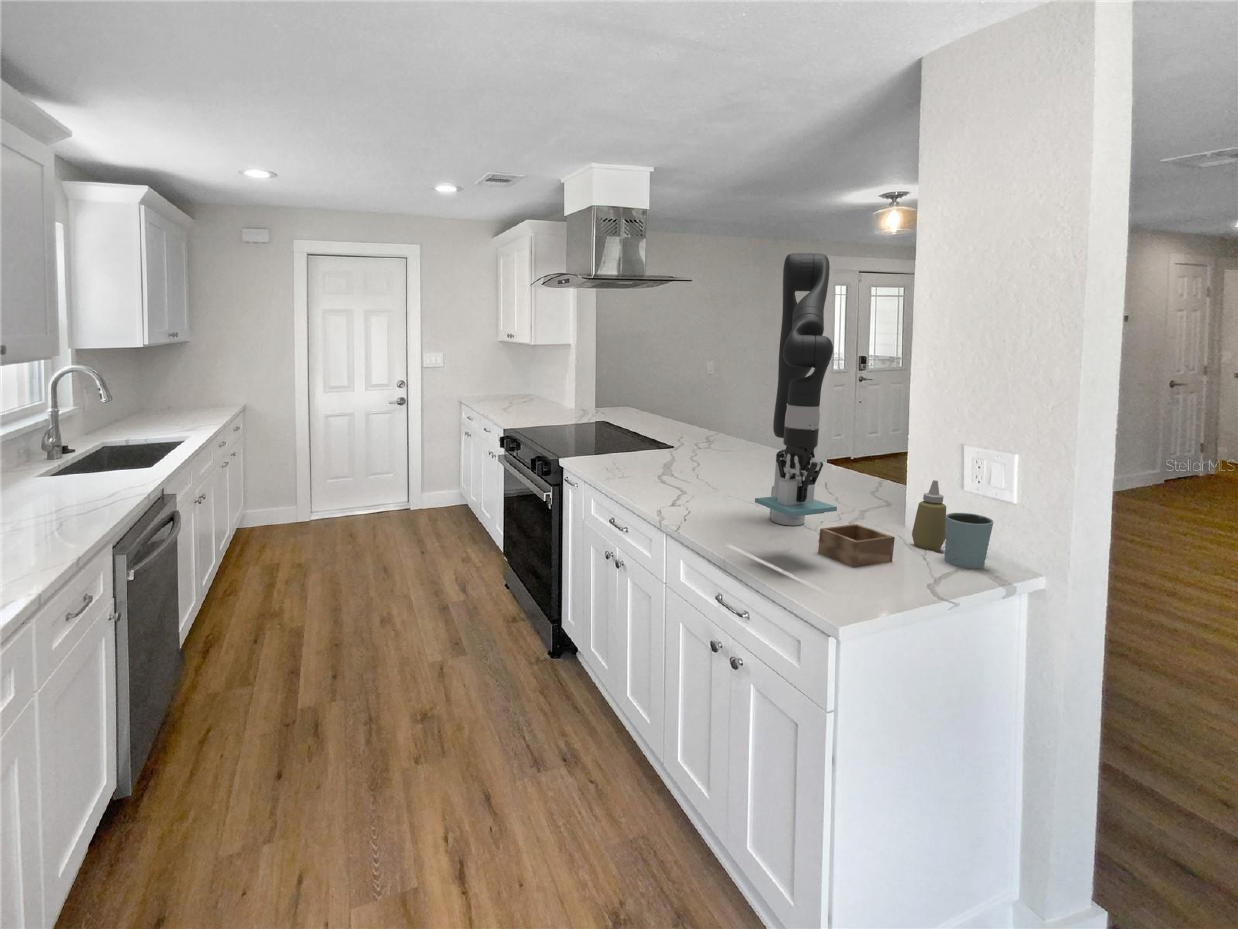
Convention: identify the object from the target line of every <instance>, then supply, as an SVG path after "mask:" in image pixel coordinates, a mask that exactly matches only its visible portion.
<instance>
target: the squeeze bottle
mask: <svg viewBox="0 0 1238 929" xmlns="http://www.w3.org/2000/svg"><path fill="white" fill-rule="evenodd" d="M943 502H944V495H943V494H940V488H939V480H936V479H935V480H934V479H933V480H932V482H931V485H930V487H929V491H928V492H925V493H923V497H922V501H920V502H918V505H917V508H916V513H915V514H916V515H915V518H914V523H913V527H912V532H911V536H912V540H913V545H914V546H915V547H916V548H917V547H918V548H921V549H924V550H928V551H932V552H934V553H937V552H940V551H941V548H942V547H943V545H944V542H945V541H946V539H945V537H946V536H945V533H946V532H945V531H946V515H947V506H946V504H944V503H943Z"/></svg>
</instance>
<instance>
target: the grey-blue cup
mask: <svg viewBox="0 0 1238 929" xmlns="http://www.w3.org/2000/svg"><path fill="white" fill-rule="evenodd" d="M994 522H995V521H994V520H993V519H992V518H990V517H987V516H984V515H982V514H981V515H980V514H976V513H970V512H969V513H968V512H951V513H950V512H949V513H946V531H945V532H946V533H945V536H946V537H945V541H944V542H945V544H944V562H946V563H947V564H949V565H951V566H955V567H959V568H965V569H982V570H984V569H985V564H986V562H985V561H986V558H987V555H988V554H987V553H988V549H989V548H988V547H989V545H990V544H989V543H990V539H991V535H992V530H993V525H994Z"/></svg>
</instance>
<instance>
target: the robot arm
mask: <svg viewBox="0 0 1238 929" xmlns="http://www.w3.org/2000/svg"><path fill="white" fill-rule="evenodd" d="M782 269H783V270H782V271H783V272H782V317H781V329H780V338H779V350H778V371H777V372H778V375H777V378H778V379H777V388H776V389H777V390H776V398H775V405H774V412H773V413H774V415H773V425H772V427H773V433H774V435H775V437H776V438H780V439H783V440H782V441H783V443H782V444H783V445H784V446H786V447H785V449H781V450H779V451H777V452H776V454H775V468H774V480H773V481H774V482H773V485H772V487H771V493H770V494H771V495H770V497H773V496H778V487H779V480H786V479H798V485H799V486H797V498H796V501H797V502H805V501H806V498H807V489H808V486H809V485H814V484H815V485H816V483H817V480H818V479H819V476H820V474H821V471H822V469H823V467H824V463H823V461H818V460H817V459H816V456H815V455H816V454H815V448H817V447H818V445H819V443H818V441H819V430H820V421H821V420H820V418H821V417H820V416H821V412H820V407H821V406H820V404H821V394H822V393H821V392H822V386H823V383H824V382H823V381H824V380H825V379H824V378H825V375H826V372H827V370H828V366H829V365H830V362H831V360H832V356H833V353H834V344H833V342H832V339H831V338H829V337H828V336H825V335H824V332H825V317H824V314H825V313H824V312H825V305H826V300H827V295H828V294H827V293H828V288H829V282H830V281H829V280H830V269H831V268H830V260H829V257H828V256H827V254H824V253H816V252H815V253H812V252H809V253H807V252H806V253H805V252H803V253H802V252H801V253H800V252H799V253H797V252H796V253H794V252H793V253H789V254H787V255H786V257H785V259H784V263H783V268H782ZM796 292H808V293H807V294H805V295H804V296H803V297H802V298H801V299H800V300H799V301H797V297H796ZM812 368H813V371H812V373H810V371H811V369H812ZM809 373H810V375H808V374H809ZM803 478H804V480H803ZM805 518H806V515H803V516H794V517H792V516H789V515H786V514H784V513H781V512H778V511H776V510H773V509H770V508H769V519H771V521H772V522H773V523H775V524H778V525H782V526H802V525H804V524H805V521H806V520H805Z"/></svg>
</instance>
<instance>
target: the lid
mask: <svg viewBox="0 0 1238 929" xmlns="http://www.w3.org/2000/svg"><path fill="white" fill-rule="evenodd" d="M803 480H804V478H803ZM797 486H799V485H798V479H786V480H779V487H778V496H773V497H771V496H764V497H754V498H755V499H754V503H755V504H758V505H759V506H760V505H761V506H763V507H766V508H768V509H769V510H770V509H773V510H776V511H778V512H781V513H784V514H786V515H789V516H792V517H794V516H803V515H805V516H811V515H819V514H825V513H830V512H837V510H838V507H837V506H836V505H832V504H830V503H827V502H823V501H820V500H818V499H815V487H816V483H815V484H814V485H809V486H808V489H807V498H806V501H805V502H797V501H796V498H797Z"/></svg>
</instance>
